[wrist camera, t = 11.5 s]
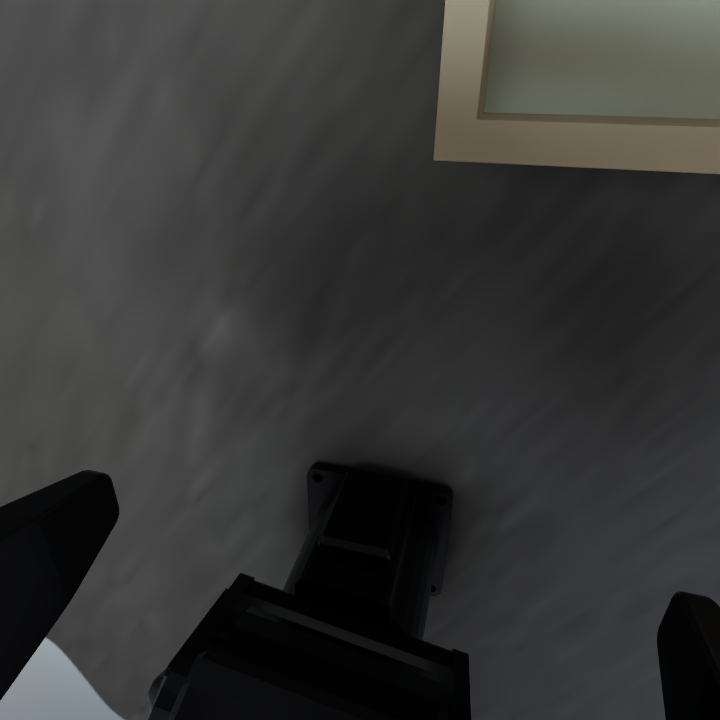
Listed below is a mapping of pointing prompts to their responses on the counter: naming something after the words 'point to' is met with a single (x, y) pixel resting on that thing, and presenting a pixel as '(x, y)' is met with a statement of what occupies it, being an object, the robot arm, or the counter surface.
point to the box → (581, 84)
